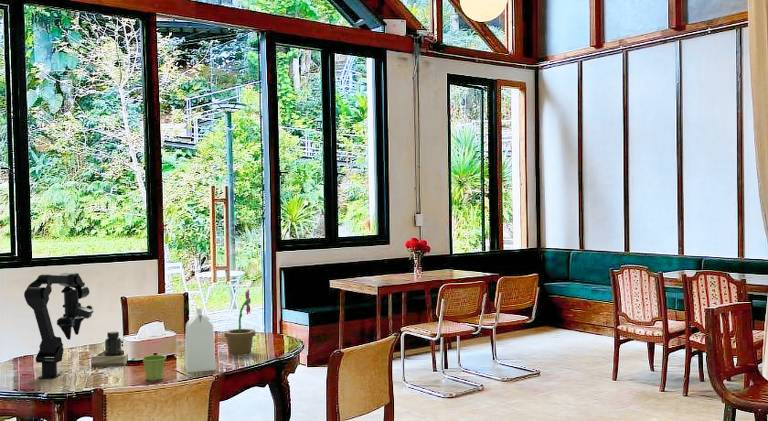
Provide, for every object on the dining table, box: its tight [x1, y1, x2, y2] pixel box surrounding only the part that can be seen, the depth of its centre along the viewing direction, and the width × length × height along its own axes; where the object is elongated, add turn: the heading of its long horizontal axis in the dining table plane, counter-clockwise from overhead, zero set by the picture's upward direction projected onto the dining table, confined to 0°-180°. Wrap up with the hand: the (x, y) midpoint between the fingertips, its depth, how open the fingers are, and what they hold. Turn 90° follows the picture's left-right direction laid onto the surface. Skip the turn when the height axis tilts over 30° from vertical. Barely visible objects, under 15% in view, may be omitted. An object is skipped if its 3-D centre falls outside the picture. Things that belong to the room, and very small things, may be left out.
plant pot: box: [141, 354, 167, 382], centre depth 292 cm, size 9×9×9 cm
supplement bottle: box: [104, 331, 122, 356], centre depth 324 cm, size 7×7×12 cm
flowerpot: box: [224, 289, 256, 356], centre depth 340 cm, size 14×14×30 cm
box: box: [90, 349, 128, 367], centre depth 324 cm, size 14×14×4 cm
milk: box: [184, 306, 216, 373], centre depth 310 cm, size 12×12×26 cm
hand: (73, 337), depth 316 cm, fingers open, 9 cm apart
